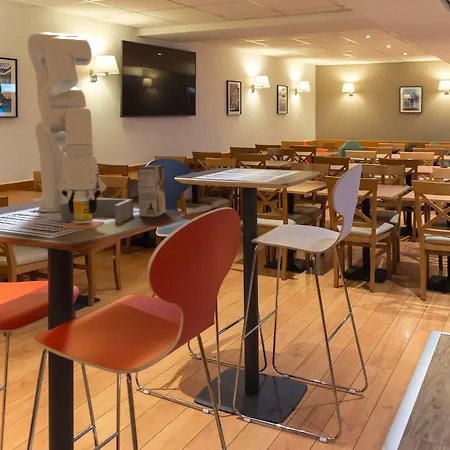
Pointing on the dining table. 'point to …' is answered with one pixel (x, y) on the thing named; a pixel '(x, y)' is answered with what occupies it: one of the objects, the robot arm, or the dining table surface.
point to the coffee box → (151, 190)
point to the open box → (104, 209)
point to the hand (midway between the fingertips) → (83, 212)
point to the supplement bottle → (82, 207)
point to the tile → (84, 225)
